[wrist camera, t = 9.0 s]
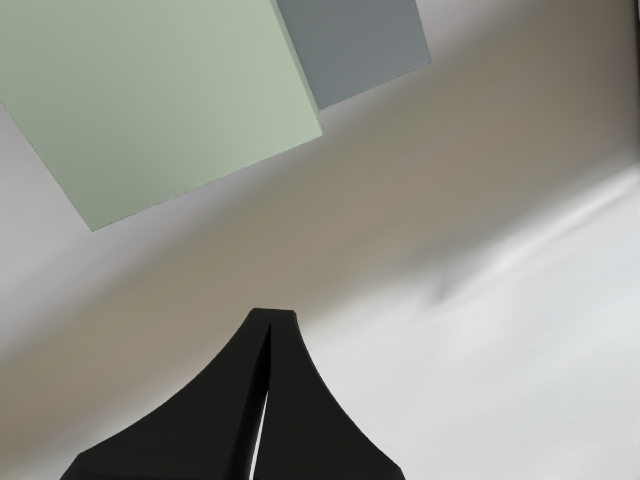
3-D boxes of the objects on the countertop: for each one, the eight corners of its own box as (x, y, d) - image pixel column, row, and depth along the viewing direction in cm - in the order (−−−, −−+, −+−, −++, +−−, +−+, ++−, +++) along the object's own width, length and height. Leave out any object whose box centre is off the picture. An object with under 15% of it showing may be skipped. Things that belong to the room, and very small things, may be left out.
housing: (319, 110, 16) (322, 135, 11) (160, 178, 17) (91, 231, 12) (227, -124, 13) (169, -254, 8) (41, -25, 14) (-125, -78, 9)
